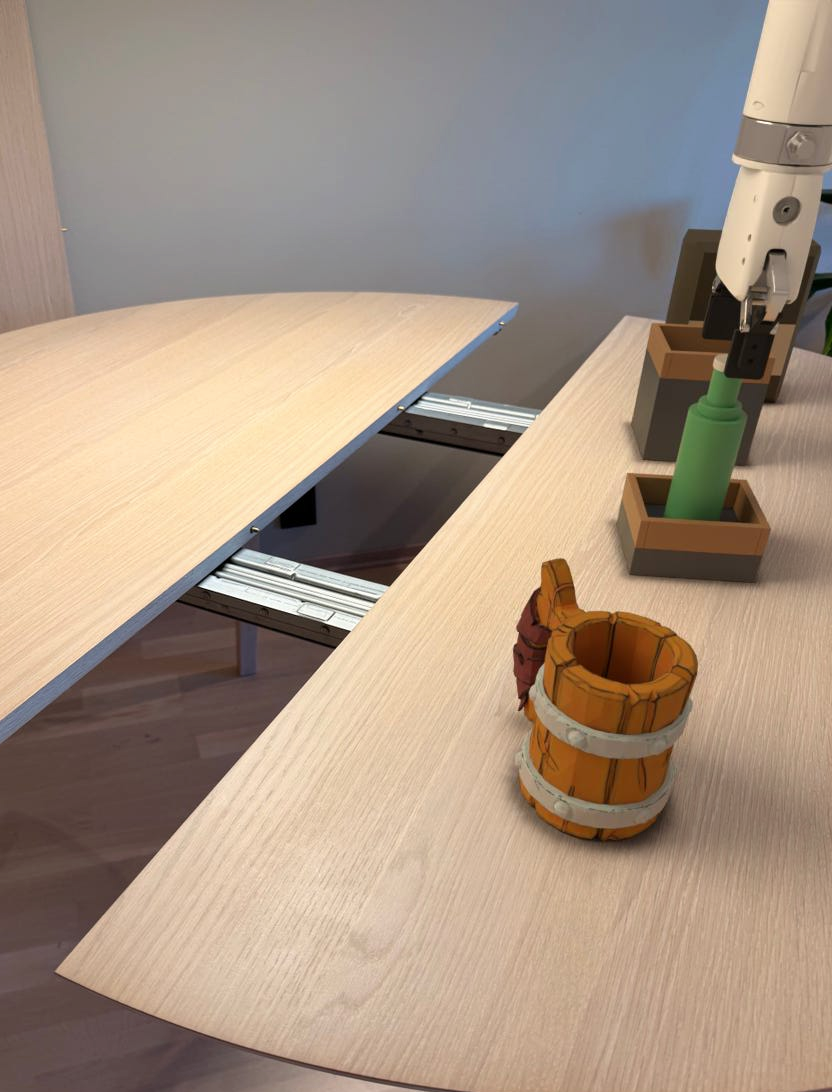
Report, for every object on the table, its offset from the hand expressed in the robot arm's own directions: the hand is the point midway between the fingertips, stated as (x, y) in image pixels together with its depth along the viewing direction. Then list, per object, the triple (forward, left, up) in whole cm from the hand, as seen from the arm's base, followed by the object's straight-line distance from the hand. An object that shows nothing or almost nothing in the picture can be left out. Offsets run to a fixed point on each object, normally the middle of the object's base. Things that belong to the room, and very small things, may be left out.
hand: (729, 357), depth 87 cm
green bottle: (0, 0, -17) cm, 17 cm away
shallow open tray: (0, 0, -20) cm, 20 cm away
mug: (+14, +33, -20) cm, 41 cm away
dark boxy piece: (-12, -44, -20) cm, 50 cm away
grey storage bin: (-5, -26, -20) cm, 33 cm away
